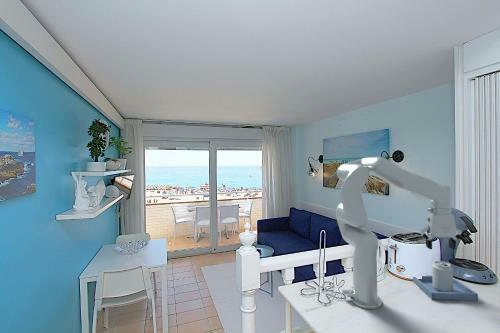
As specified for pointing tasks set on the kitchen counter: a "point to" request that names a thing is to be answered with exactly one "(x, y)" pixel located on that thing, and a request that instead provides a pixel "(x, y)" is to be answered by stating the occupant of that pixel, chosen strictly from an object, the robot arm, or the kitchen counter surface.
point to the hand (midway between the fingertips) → (440, 248)
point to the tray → (458, 292)
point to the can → (442, 276)
